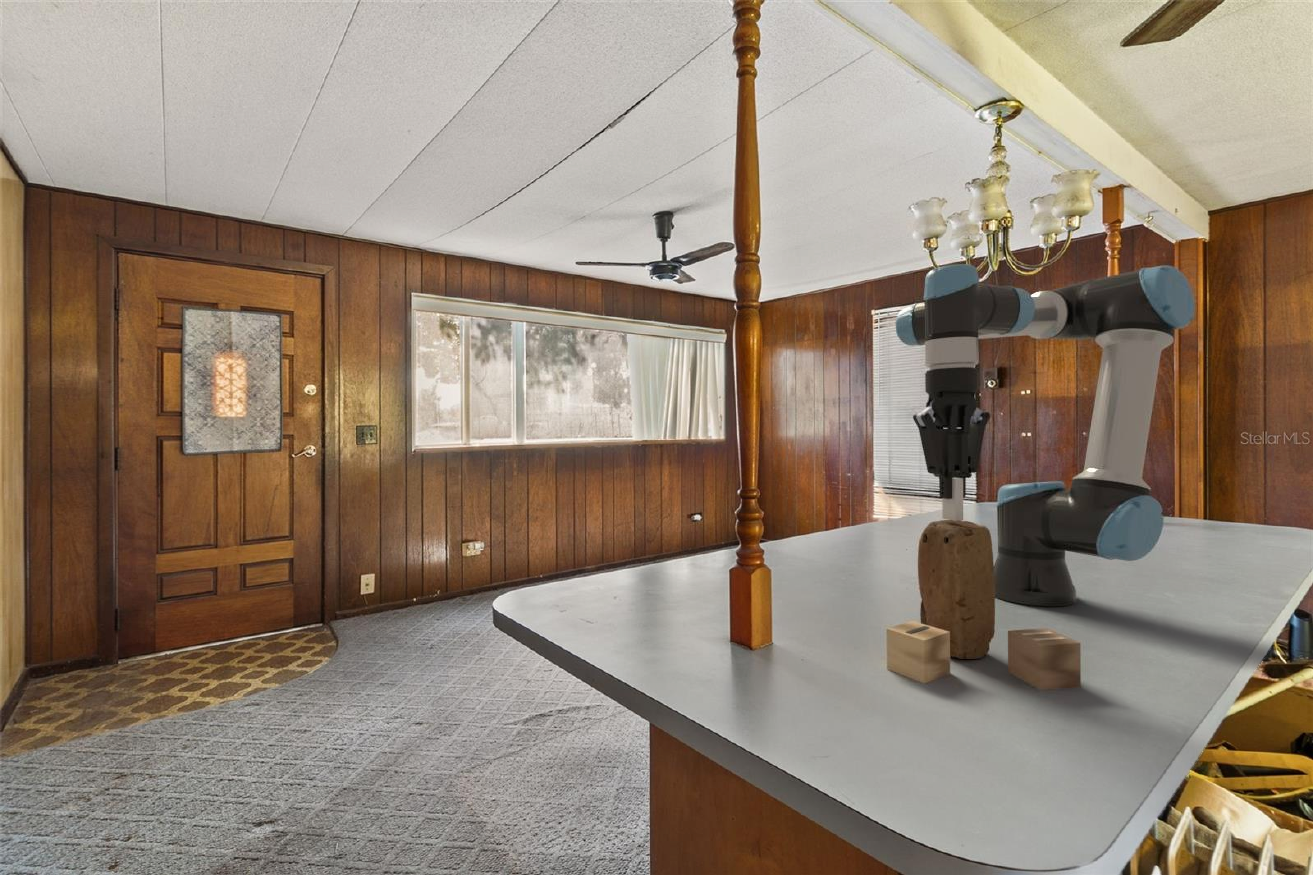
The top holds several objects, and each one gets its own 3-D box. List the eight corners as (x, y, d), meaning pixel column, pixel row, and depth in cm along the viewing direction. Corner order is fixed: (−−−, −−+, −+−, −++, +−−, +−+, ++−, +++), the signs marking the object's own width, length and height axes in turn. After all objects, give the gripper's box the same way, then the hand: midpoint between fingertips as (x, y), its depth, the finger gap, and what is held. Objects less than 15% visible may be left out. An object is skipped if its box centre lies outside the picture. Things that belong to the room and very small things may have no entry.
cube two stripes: (1046, 669, 88) (1046, 627, 88) (1080, 687, 82) (1080, 642, 82) (1008, 672, 87) (1007, 630, 87) (1039, 690, 81) (1039, 645, 81)
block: (1000, 660, 91) (999, 526, 91) (956, 664, 90) (955, 529, 89) (951, 635, 102) (950, 516, 102) (911, 639, 100) (910, 518, 100)
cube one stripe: (912, 660, 92) (912, 620, 92) (950, 673, 87) (949, 631, 87) (887, 669, 89) (886, 627, 89) (924, 684, 84) (923, 639, 84)
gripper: (966, 370, 100) (967, 513, 101) (900, 369, 97) (901, 518, 97) (1004, 366, 93) (1005, 520, 94) (934, 365, 89) (936, 525, 90)
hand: (952, 519), depth 95 cm, fingers closed
